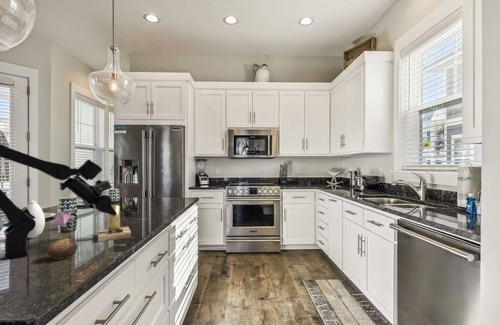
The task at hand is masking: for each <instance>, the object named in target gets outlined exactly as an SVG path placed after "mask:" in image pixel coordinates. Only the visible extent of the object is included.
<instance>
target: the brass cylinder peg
mask: <svg viewBox="0 0 500 325" xmlns="http://www.w3.org/2000/svg"><path fill="white" fill-rule="evenodd" d="M111 206H112V207H113V209H114V210H115V212H116V213H117V214H116V215H115V216H114V215H111V214H108V213H107V215H108V216H107V222H108V223H107V227H108V228H107V229H108V234H112V233H120V227H121V205H120V204H113V205H112V204H111Z"/></svg>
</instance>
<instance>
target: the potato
mask: <svg viewBox="0 0 500 325" xmlns="http://www.w3.org/2000/svg"><path fill="white" fill-rule="evenodd" d="M77 250H78V246H77V243H76V241H74V239H71V238H61V239H59V240H56V241H55V242H53V243H51V244H50V245H49V246H48V248H47V250H46V251H47V255H48V257H49V258H51V259H53V260H58V261H60V260H61V261H62V260H66V259H69V258H71V257H73V256H74V255H75V254H76V252H77Z"/></svg>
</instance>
